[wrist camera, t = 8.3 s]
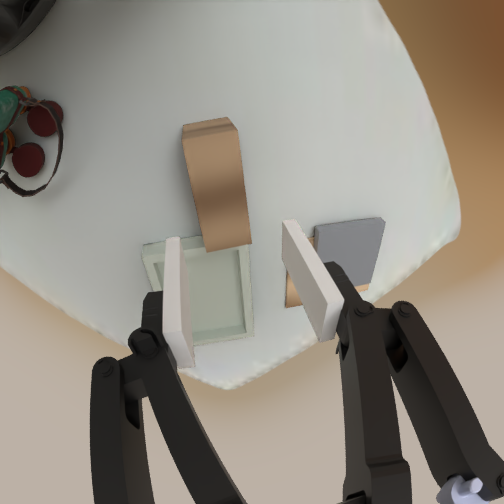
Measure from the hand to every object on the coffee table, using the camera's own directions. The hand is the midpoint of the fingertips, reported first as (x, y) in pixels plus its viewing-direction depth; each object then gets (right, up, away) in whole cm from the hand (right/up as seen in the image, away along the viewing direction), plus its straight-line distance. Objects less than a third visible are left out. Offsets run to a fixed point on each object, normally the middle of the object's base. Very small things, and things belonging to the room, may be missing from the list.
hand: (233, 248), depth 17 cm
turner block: (-3, +8, +10) cm, 13 cm away
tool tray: (-5, -5, +19) cm, 20 cm away
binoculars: (-20, +11, +3) cm, 23 cm away
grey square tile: (+13, +3, +16) cm, 20 cm away
